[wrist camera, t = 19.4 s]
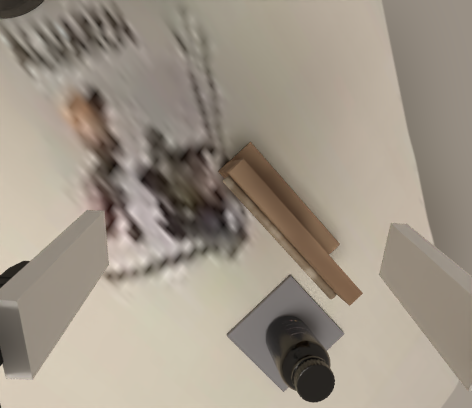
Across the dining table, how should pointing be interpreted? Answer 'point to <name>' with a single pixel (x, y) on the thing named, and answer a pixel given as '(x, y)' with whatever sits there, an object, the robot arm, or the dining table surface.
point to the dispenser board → (287, 220)
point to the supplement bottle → (300, 358)
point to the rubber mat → (271, 308)
